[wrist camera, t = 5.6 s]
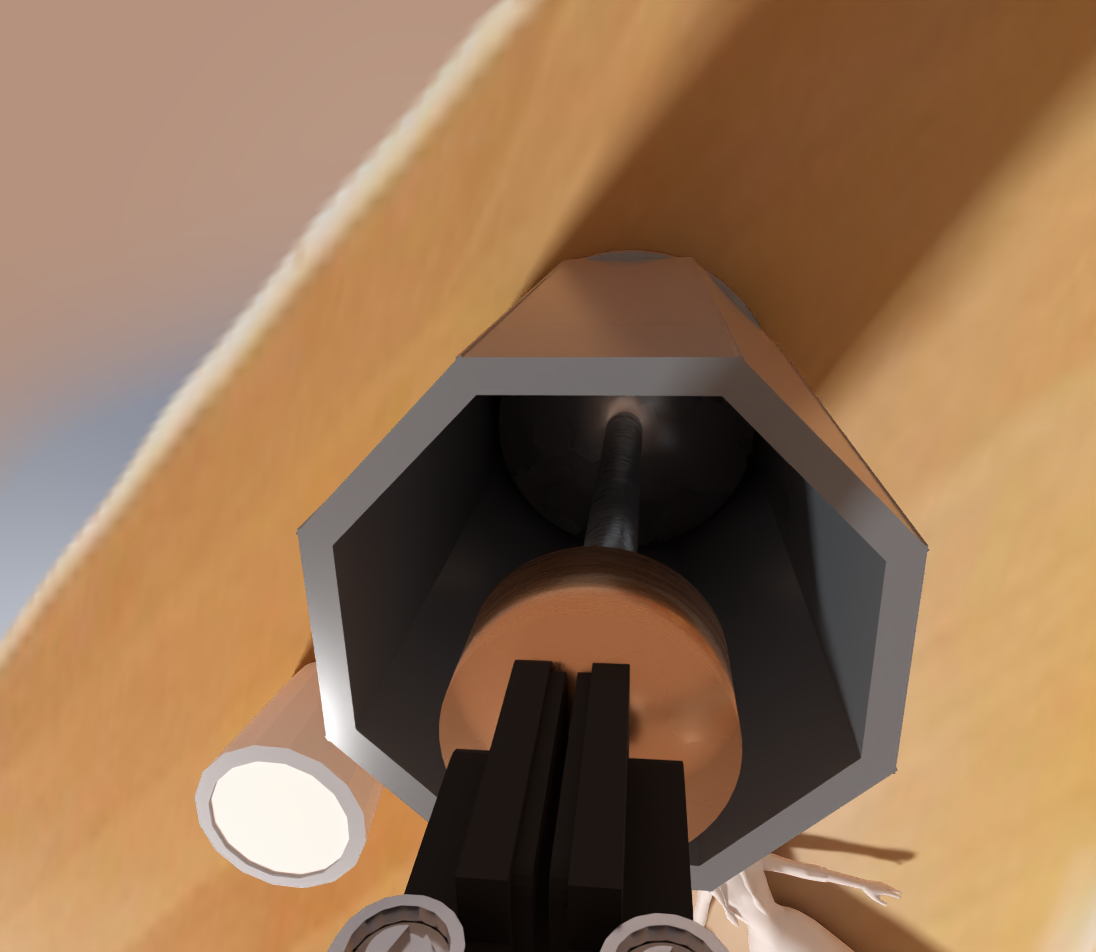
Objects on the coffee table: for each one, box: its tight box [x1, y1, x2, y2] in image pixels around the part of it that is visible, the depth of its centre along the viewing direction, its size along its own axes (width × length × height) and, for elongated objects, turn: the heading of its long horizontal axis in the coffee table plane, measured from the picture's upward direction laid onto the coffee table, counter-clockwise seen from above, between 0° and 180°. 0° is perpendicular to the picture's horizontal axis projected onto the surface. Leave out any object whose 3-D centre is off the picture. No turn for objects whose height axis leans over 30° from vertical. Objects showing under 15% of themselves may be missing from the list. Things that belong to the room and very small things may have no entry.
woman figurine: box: [693, 853, 901, 952], centre depth 37 cm, size 12×4×18 cm
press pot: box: [296, 249, 929, 892], centre depth 23 cm, size 11×14×18 cm
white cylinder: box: [195, 662, 383, 888], centre depth 34 cm, size 7×7×7 cm
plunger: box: [439, 395, 755, 842], centre depth 20 cm, size 8×8×17 cm
